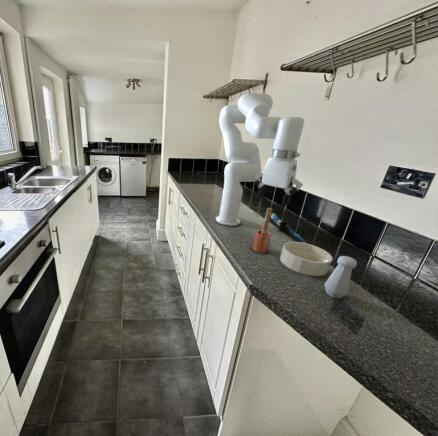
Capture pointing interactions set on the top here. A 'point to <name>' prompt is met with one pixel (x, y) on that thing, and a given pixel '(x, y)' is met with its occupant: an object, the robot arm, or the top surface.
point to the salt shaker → (340, 277)
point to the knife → (286, 228)
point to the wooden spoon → (266, 221)
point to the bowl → (306, 258)
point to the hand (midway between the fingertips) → (272, 201)
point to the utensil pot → (261, 241)
